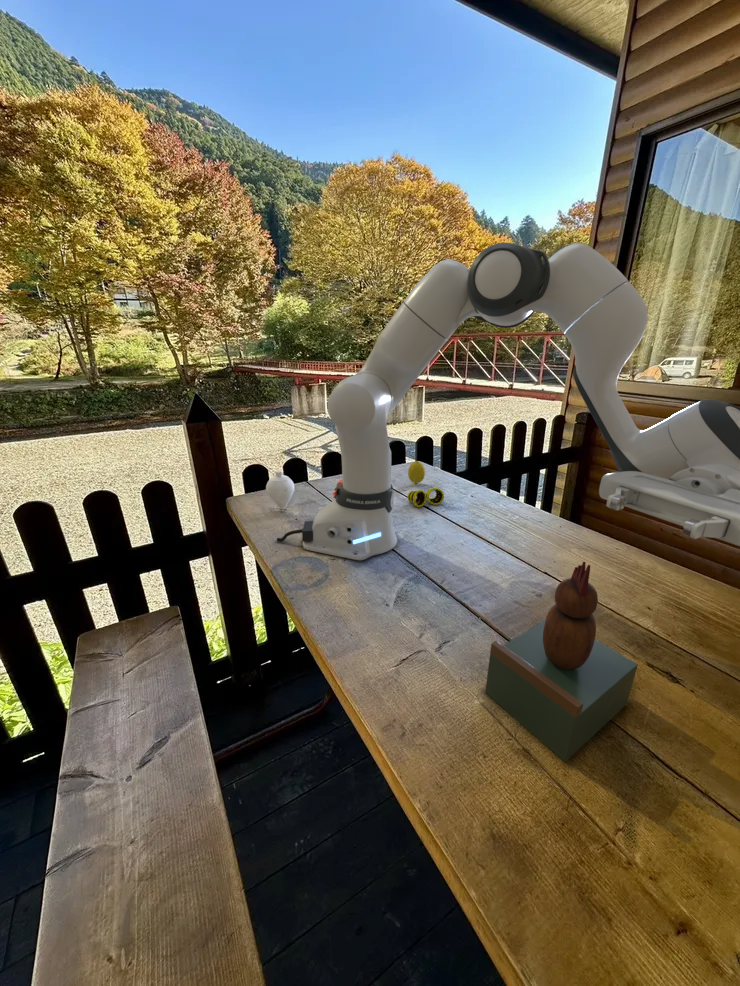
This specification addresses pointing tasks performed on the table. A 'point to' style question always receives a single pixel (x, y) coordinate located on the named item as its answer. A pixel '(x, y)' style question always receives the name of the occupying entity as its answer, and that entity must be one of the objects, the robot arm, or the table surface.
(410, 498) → the opera glasses
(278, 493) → the spinning top
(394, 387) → the robot arm
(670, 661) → the table surface
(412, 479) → the lemon
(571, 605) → the wooden figurine
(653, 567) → the table surface
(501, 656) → the step stand
